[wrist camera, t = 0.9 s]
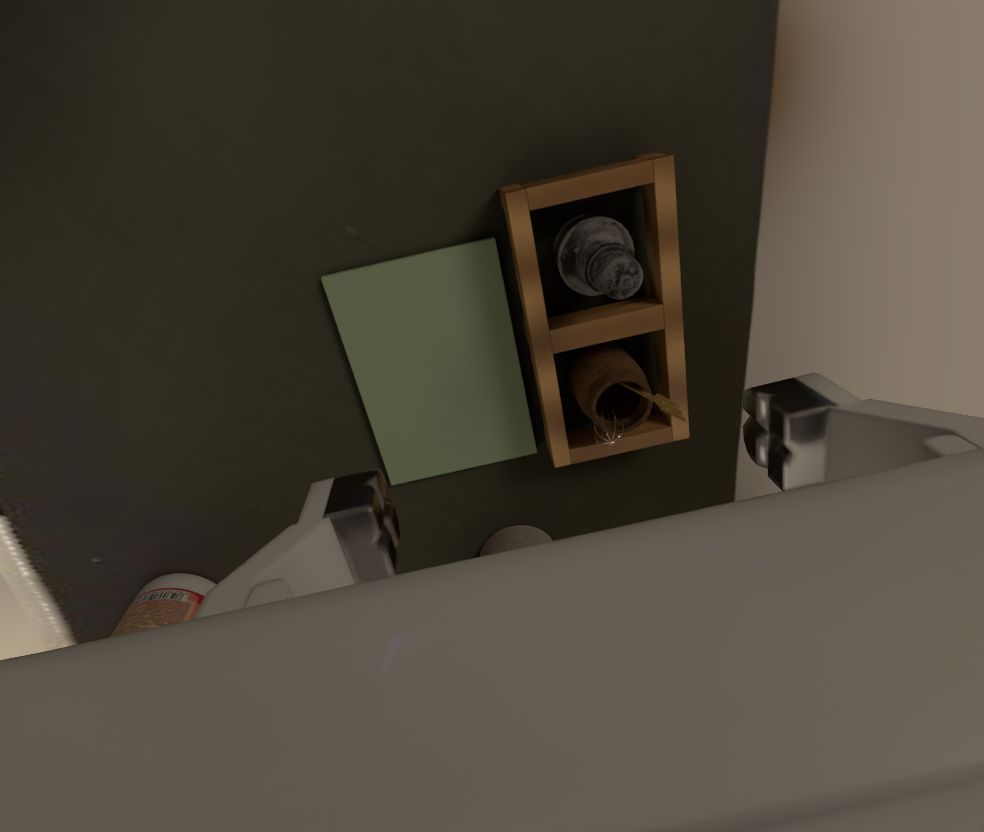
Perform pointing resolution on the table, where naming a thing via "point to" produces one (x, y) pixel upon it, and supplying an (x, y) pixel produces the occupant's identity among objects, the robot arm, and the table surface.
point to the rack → (610, 320)
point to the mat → (435, 359)
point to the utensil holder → (614, 390)
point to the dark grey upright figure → (597, 257)
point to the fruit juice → (164, 602)
